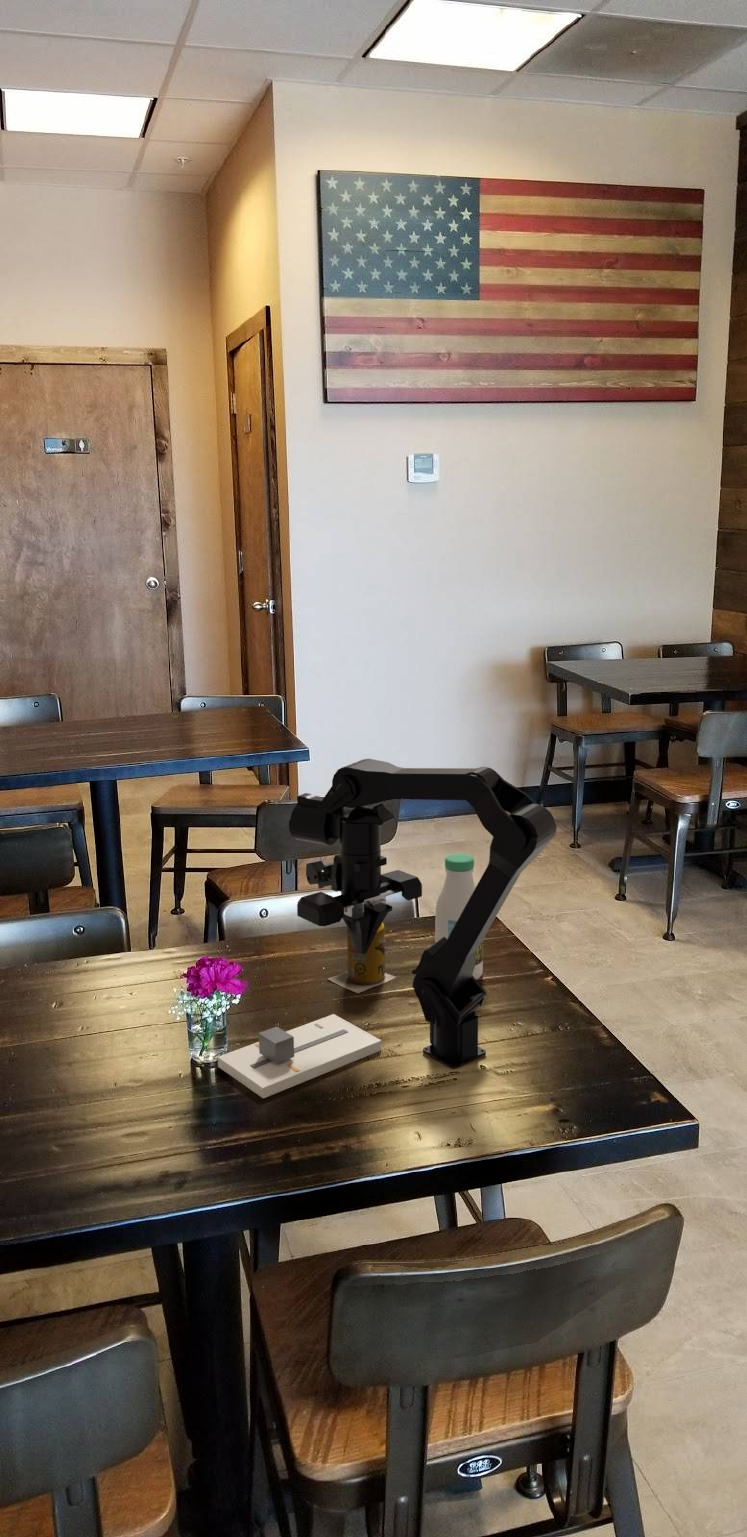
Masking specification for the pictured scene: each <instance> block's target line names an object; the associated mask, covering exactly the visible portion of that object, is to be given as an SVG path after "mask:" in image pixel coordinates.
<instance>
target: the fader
mask: <svg viewBox="0 0 747 1537" xmlns="http://www.w3.org/2000/svg"><path fill="white" fill-rule="evenodd" d="M258 1042H259V1053H260V1054H261V1055H263V1056H265V1057H266V1058H268V1059H269V1060H271V1061H272V1062H274V1063H275V1064H277V1063H280V1062H283V1061H285V1060H288V1059H290V1058H293V1057H294V1037H293V1036H292V1035H290V1034H288V1033H287V1032H286V1031H285V1030H283V1029H282V1028H280V1027H278V1026H275V1027H271V1028H268V1029H266V1030H263V1031H260V1032H258Z"/></svg>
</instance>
